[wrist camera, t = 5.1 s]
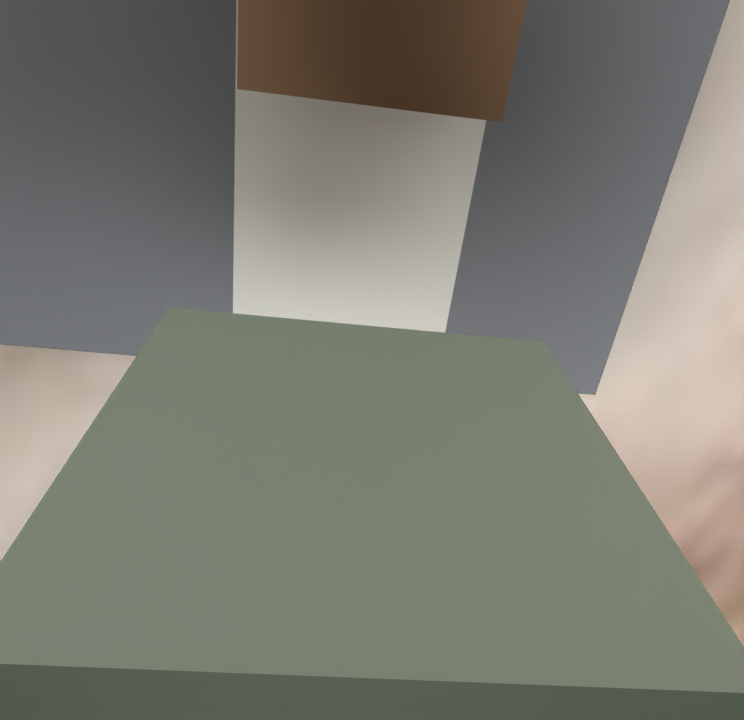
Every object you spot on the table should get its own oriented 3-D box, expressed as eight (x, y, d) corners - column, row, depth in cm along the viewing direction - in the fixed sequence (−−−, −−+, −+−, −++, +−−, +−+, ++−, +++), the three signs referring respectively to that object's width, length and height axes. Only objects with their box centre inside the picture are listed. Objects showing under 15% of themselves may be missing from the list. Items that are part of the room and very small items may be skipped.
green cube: (181, 581, 9) (52, 1002, 5) (169, 308, 7) (-67, 662, 3) (472, 596, 9) (564, 1000, 5) (544, 341, 7) (774, 693, 3)
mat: (-9, 333, 17) (-22, 343, 17) (-145, -360, 11) (-173, -383, 10) (588, 384, 19) (596, 395, 18) (780, -194, 12) (801, -205, 12)
